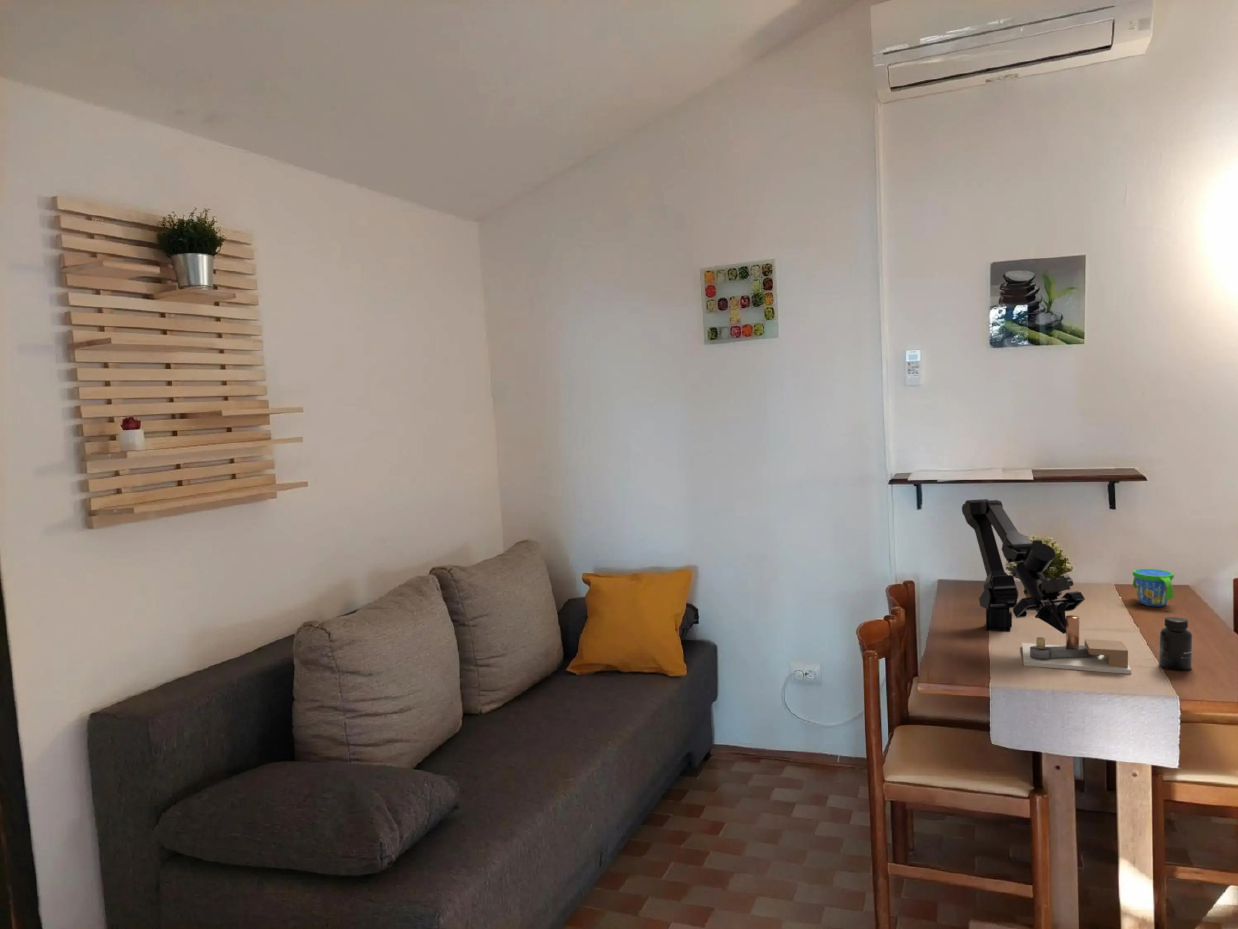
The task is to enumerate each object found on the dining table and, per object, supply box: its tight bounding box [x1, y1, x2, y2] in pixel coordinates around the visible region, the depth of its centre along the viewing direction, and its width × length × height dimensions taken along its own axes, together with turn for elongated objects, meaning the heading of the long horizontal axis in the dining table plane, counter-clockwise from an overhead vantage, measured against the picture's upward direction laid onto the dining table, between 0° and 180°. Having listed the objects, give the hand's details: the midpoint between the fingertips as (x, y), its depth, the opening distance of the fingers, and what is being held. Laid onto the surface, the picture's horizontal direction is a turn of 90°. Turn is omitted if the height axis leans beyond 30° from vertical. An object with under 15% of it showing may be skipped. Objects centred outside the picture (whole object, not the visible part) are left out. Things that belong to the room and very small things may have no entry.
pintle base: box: [1021, 636, 1132, 675], centre depth 223 cm, size 24×16×6 cm
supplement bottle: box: [1158, 616, 1193, 672], centre depth 214 cm, size 7×7×12 cm
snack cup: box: [1132, 568, 1175, 608], centre depth 270 cm, size 16×11×10 cm
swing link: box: [1030, 614, 1100, 660], centre depth 222 cm, size 16×5×10 cm, turn 88°
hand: (1066, 632), depth 223 cm, fingers closed, pressing on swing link
